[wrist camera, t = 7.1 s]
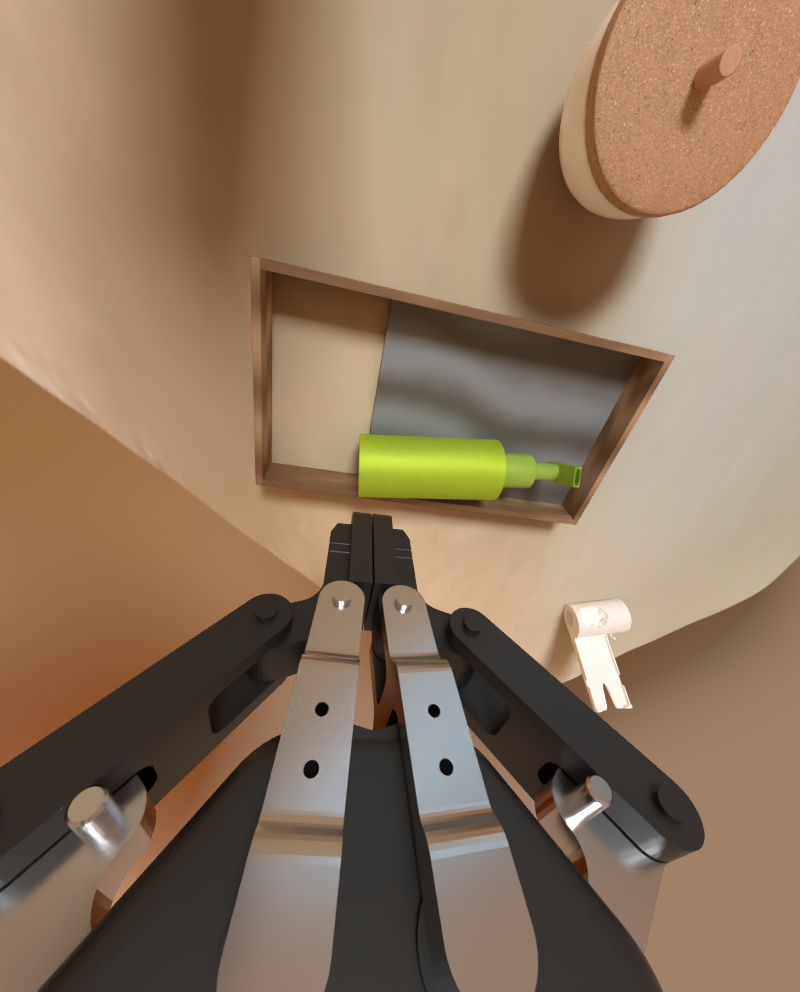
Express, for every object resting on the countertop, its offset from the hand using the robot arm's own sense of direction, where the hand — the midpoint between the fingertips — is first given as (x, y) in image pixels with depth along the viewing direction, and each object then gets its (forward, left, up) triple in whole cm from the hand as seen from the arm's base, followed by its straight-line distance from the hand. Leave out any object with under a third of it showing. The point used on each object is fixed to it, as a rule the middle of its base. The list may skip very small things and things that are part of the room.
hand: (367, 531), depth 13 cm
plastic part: (+29, +38, -22) cm, 53 cm away
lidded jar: (-20, +14, -22) cm, 33 cm away
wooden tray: (+1, +8, -22) cm, 23 cm away
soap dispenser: (+6, 0, -18) cm, 19 cm away
